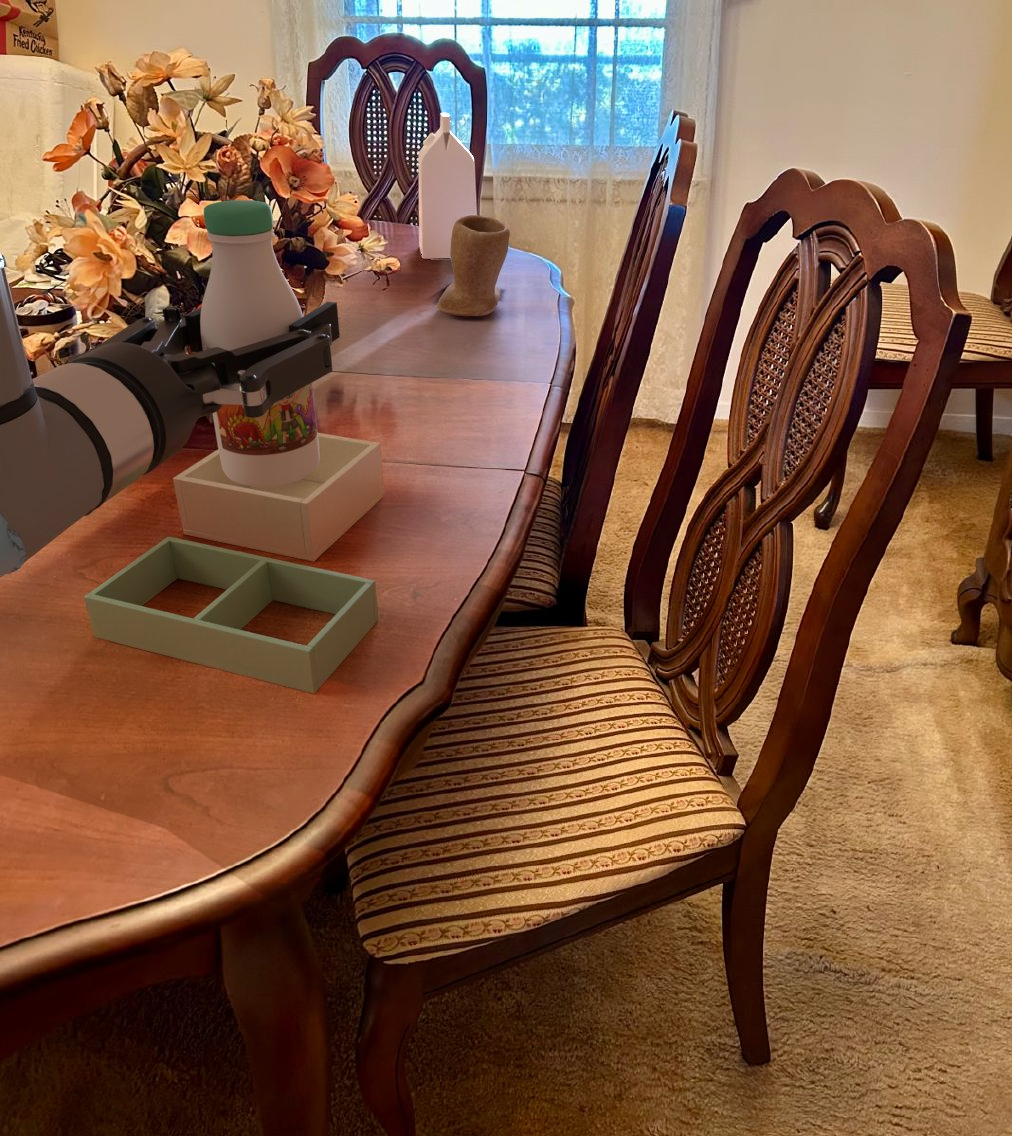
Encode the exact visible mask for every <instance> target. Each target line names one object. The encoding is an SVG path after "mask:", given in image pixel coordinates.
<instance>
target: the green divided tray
mask: <svg viewBox="0 0 1012 1136" xmlns="http://www.w3.org/2000/svg"><path fill="white" fill-rule="evenodd" d="M176 580H182V581H186V582H192V583H195V584H199V585H204V586H209V587H212V588H213V587H214V588H219V589H221V590H222V589H223V590H225V591H223V593H221V594H220V595H219V596H218V597H216V598H215V599H214V600H213V601H212V602H210V604H208V605H207V606H205V608H204V609H202V610H201V611H200V612H199V613H198V614H197V615H195V616H193V617H190V616H189V617H188V616H184V615H180V614H176V613H171V612H168V611H163V610H159V609H155V608H151V607H147V606H144V605H145V604H147V603H148V602H149V601H151V600H152V599H153V598H154V597H156V596H157V595H158V594H159V593H161V592H162V591H164V590H165V589H166V588H167V587H168V586H170V585H172V583H174V582H175V581H176ZM83 600H84V602H85V606H86V607H85V608H86V610H87V614H88V617H89V622H90V625H91V628H92V633H93V636H94V638H96V639H99V640H103V641H108V642H112V643H115V644H119V645H123V646H126V647H130V648H131V647H132V648H134V649H137V650H138V649H139V650H143V651H147V652H151V653H154V654H158V655H162V656H166V657H170V658H174V659H178V660H181V661H184V662H185V661H186V662H188V663H189V662H190V663H193V664H197V665H201V666H206V667H209V668H212V669H216V670H220V671H224V672H228V673H232V674H235V675H239V676H243V677H248V678H251V679H254V680H258V681H263V682H266V683H271V684H273V685H274V684H275V685H279V686H282V687H286V688H290V689H293V690H298V691H302V692H304V693H309V694H313V695H315V694H316V693H317V692H318V690H319V689H320V688H321V687H322V686H323V685H324V684H325V682H326V681H327V680H328V679H329V678H330V677H331V676H332V675H333V673H334V672H335V671H336V670H337V668H338V667H340V665H341V664H342V663H343V661H345V660H346V658H347V657H348V656H349V655H350V654H351V653H352V652H353V650H354V649H355V648H356V647H357V645H358V644H359V643H360V642H361V641H362V640H363V639H364V637H366V635H367V634H368V633H369V632H370V631H371V629H372V628H373V627H374V626H375V624H377V623H378V621H379V612H378V598H377V585H376V580H375V579H371V578H366V577H361V576H357V575H351V574H347V573H342V572H338V571H333V570H328V569H323V568H319V567H313V566H309V565H305V564H300V563H296V562H291V561H286V560H281V559H276V558H273V557H272V558H271V557H268V556H263V555H258V554H254V553H248V552H243V551H239V550H234V549H229V548H225V547H220V546H215V545H211V544H206V543H200V542H196V541H191V540H188V539H183V538H177V537H173V536H167V537H164V539H162V540H160V542H158V543H157V544H156V545H154V546H152V547H151V548H149V550H147V551H145V552H144V553H142V554H141V555H140V556H138V557H137V558H135V559H134V560H133V561H131V562H130V563H128V564H127V565H125V567H123V568H122V569H120V570H119V571H118V572H116V573H115V574H114V575H112V576H111V577H109V578H108V579H106V580H105V581H104V582H102V583H101V584H100V585H98V586H97V587H95V588H94V589H92V591H90V592H89V593H87V594H86V595H84V596H83ZM273 601H275V602H280V603H284V604H288V605H292V606H297V607H301V608H305V609H310V610H315V611H319V612H323V613H327V614H332V615H334V616H333V617H332V618H331V619H330V620H329V621H328V622H327V623H326V624H325V626H323V628H321V630H319V632H318V633H317V634H316V635H315V636H314V637H313V638H312V639H311V641H309V643H308V644H306V645H305V644H300V643H296V642H292V641H288V640H284V639H279V638H275V637H272V636H267V635H263V634H258V633H254V632H250V631H246V630H243V629H244V628H245V627H246V626H247V625H248V624H249V623H250V622H251V621H252V620H254V618H256V617H257V616H258V615H259V614H260V613H261V612H262V611H263V610H264V609H265V608H266V607H267V606H268V605H269V604H270V603H271V602H273Z"/></svg>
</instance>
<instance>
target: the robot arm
mask: <svg viewBox="0 0 1012 1136" xmlns="http://www.w3.org/2000/svg"><path fill="white" fill-rule="evenodd" d="M6 267H8V266H7V262H6V257H5V256H4V255H3V253H1V252H0V578H2V577H4V576H6V575H11V574H13V573H15V572H17V571H18V570H20V569H21V568H22V566H23V565H24V563H26V562H27V561H29V560H30V559H31V558H33V557H34V556H35V555H36V554H37V553H38V552H40V551H42V549H44V548H45V547H46V546H48V545H49V544H50V543H51V542H52V541H54V540H55V539H56V538H58V537H59V536H60V535H62V534H63V533H64V532H65V531H66V530H68V529H69V528H70V527H71V526H73V525H74V524H75V523H77V522H78V521H79V520H81V519H82V518H84V517H87V516H90V515H91V514H92V513H93V512H94V511H95V510H97V509H98V508H100V507H101V506H102V505H103V504H105V503H106V502H107V501H109V500H111V499H112V498H113V497H115V496H117V495H118V494H119V493H121V492H123V491H124V490H125V489H127V488H128V487H129V486H131V485H133V484H134V483H135V482H137V481H138V480H139V479H140V478H141V477H143V476H146V475H147V474H149V473H151V472H152V471H153V470H155V469H156V468H158V467H159V466H161V465H162V464H164V463H165V462H167V460H169V459H170V458H172V457H173V456H175V455H176V454H177V453H179V452H180V451H181V450H182V449H183V448H184V447H185V445H186V444H187V443H188V441H189V439H190V437H191V434H192V432H193V429H194V427H195V425H196V423H197V422H198V419H200V418H202V417H206V416H208V415H213V413H215V412H217V411H218V410H220V409H221V407H222V405H224V404H226V405H242V408H244V412H245V416H246V417H249V418H256V417H260V416H263V415H264V414H265V413H266V411H267V410H268V409H269V408H270V406H271V405H272V404H274V403H276V402H277V401H279V400H281V399H283V398H285V397H287V396H288V395H290V394H292V393H294V392H296V391H298V390H299V389H301V388H303V387H305V386H307V385H308V384H310V383H314V382H316V381H318V380H319V379H321V378H323V377H325V376H327V375H328V374H330V373H332V372H333V371H334V370H333V359H332V348H331V346H332V345H333V343H334V342H335V341H337V340H338V339H340V338H341V336H340V335H341V334H340V324H339V323H340V322H339V312H338V302H337V301H326V302H325V303H323V304H321V305H319V307H317V308H315V309H314V310H312V311H310V312H308V313H307V314H305V315H303V317H302V318H301V319H299V320H297V321H296V322H294V323H292V324H291V325H289V333H286V334H283V335H280V336H276V337H273V338H270V339H266V340H263V341H260V342H256V343H253V344H250V345H247V346H243V347H240V348H237V349H233V350H230V351H229V350H226V349H223V348H219V347H214V348H211V349H207V350H204V351H203V348H202V340H201V329H200V317H201V308H202V306H201V307H199V308H196V309H194V310H193V311H191V312H189V313H187V314H185V315H184V316H183V317H182V315H181V310H180V307H177V306H169V307H168V306H167V307H164V308H163V309H162V314H163V321H162V323H160V324H156V319H155V318H153V317H149V316H148V317H147V316H145V317H144V316H143V317H142V318H140V319H137V320H136V321H134V322H133V323H131V324H130V325H128V326H126V327H125V328H123V329H121V330H120V331H118V332H117V333H115V334H113V335H112V336H111V337H109V338H108V339H106V340H104V341H103V342H101V343H100V344H99V345H97V346H95V347H94V348H92V349H90V350H86V351H84V352H82V353H79V354H76V355H73V356H71V357H68V358H67V363H63V364H60V365H58V366H56V367H54V368H52V369H50V370H48V371H46V372H44V373H43V374H40V375H38V376H36V377H34V378H33V377H32V373H31V370H30V365H29V362H28V358H27V354H26V349H25V345H24V342H23V337H22V333H21V328H20V326H19V321H18V317H17V312H16V308H15V305H14V301H13V296H12V292H11V288H10V284H9V280H8V276H7V272H6ZM188 345H189V350H190V353H191V354H189V353H188V350H187V349H188V348H187V346H188ZM212 363H214V364H215V366H214V365H213V364H212Z"/></svg>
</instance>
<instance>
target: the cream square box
mask: <svg viewBox="0 0 1012 1136" xmlns="http://www.w3.org/2000/svg"><path fill="white" fill-rule="evenodd" d="M318 441H319V453H320V461H319V464H318V467H317V468H316V470H315V471H314V472H313V473H312V474H311V475H309V476H307V477H305V478H303V479H301V480H299V481H296V482H292V483H289V484H284V485H278V486H264V487H259V486H249V485H243V484H240V483H236V482H234V481H232V480H231V479H229V478H228V477H227V476H226V474H225V473H224V471H223V469H222V466H221V461H220V456H219V450H218V449H216V450H214V451H213V452H211V453H210V454H208V455H207V456H205V457H203V458H202V459H200V460H198V461H197V462H195V463H194V464H192V465H191V466H189V467H188V468H186V469H185V470H183V471H181V472H180V473H178V474H177V475H176V476H174V477H172V484H173V487H174V488H173V489H174V493H175V497H176V503H177V508H178V509H177V510H178V513H179V518H180V524H181V529H182V533H183V535H185V536H189V537H195V538H200V539H204V540H210V541H212V542H213V541H214V542H218V543H223V544H229V545H233V546H238V547H242V548H247V549H252V550H257V551H261V552H266V553H270V554H275V555H280V556H285V557H289V558H295V559H297V560H298V559H299V560H304V561H307V562H313V563H314V562H316V560H317V559H318V558H320V557H321V556H322V555H323V554H325V552H326V551H327V550H328V549H329V548H331V546H332V545H334V544H335V543H336V542H337V541H338V540H339V539H340V538H341V537H343V535H345V534H346V533H347V532H348V531H349V530H350V529H351V528H352V527H353V526H354V525H355V524H356V523H357V522H359V520H360V519H361V518H362V517H364V516H365V515H366V514H367V513H368V512H369V511H370V510H371V509H372V508H373V507H375V505H377V503H379V501H381V500H382V499H383V498H384V497H385V484H384V471H383V469H384V468H383V456H382V443H381V442H377V441H371V440H366V439H365V440H364V439H360V438H352V437H346V436H340V435H335V434H329V433H328V434H327V433H322V432H318Z"/></svg>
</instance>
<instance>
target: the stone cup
mask: <svg viewBox="0 0 1012 1136" xmlns="http://www.w3.org/2000/svg"><path fill="white" fill-rule="evenodd" d="M510 237H511V231H510V228H509V226H507V224H505V222H503V221H500V220H499V219H496V218H493V217H490V216H485V215H478V214H477V215H468V216H464V217H461V218H459V219H458V220H457V221H456V222H455V224H454V227H453V230H452V238H451V251H450V257H451V259H450V262H451V266H452V271H453V281H452V282H450V283H449V285H448V286H447V287H446V288H445V290H444V292H442V295H440V297H439V300H438V301H437V309H438V310H439V311H440V312H443V313H445V314H448V315H451V316H452V315H453V316H460V317H461V316H462V317H484V316H487V315H489V314H491V313H492V312H493V311H495V309H496V308H497V306H498V303H499V301H500V298H501V295H502V290H501V289H500V288H499V287H497V286H496V285H497V283H498V279H499V276H500V273H501V270H502V269H503V265H504V263H505V262H506V261H505V260H506V257H507V254H508V251H509V245H510Z"/></svg>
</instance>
